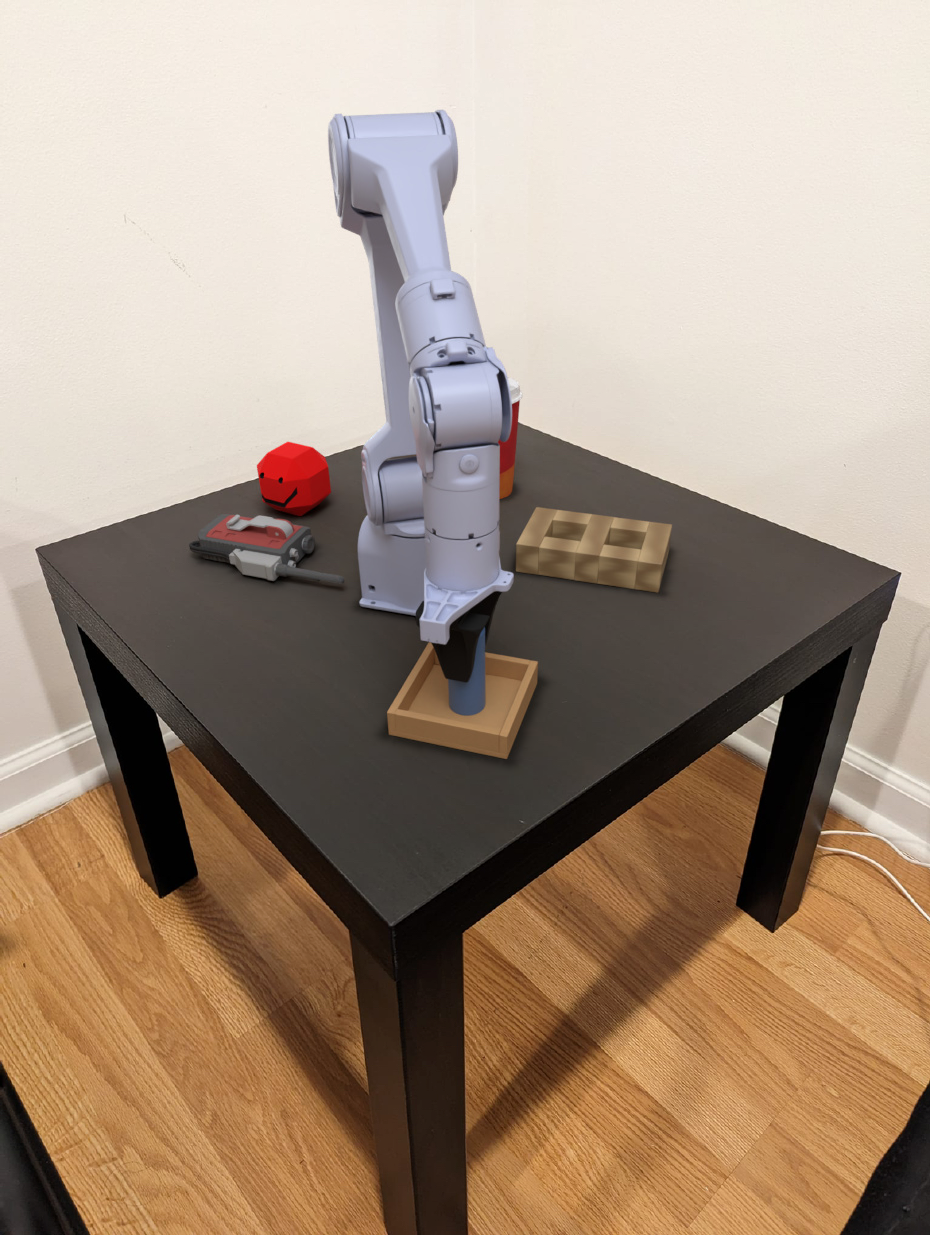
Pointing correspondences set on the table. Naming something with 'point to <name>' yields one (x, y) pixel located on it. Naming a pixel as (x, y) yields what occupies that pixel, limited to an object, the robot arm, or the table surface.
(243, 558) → the walkie-talkie
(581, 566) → the peg block
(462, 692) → the peg
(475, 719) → the tray
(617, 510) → the table surface
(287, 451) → the ball
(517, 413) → the paper cup
